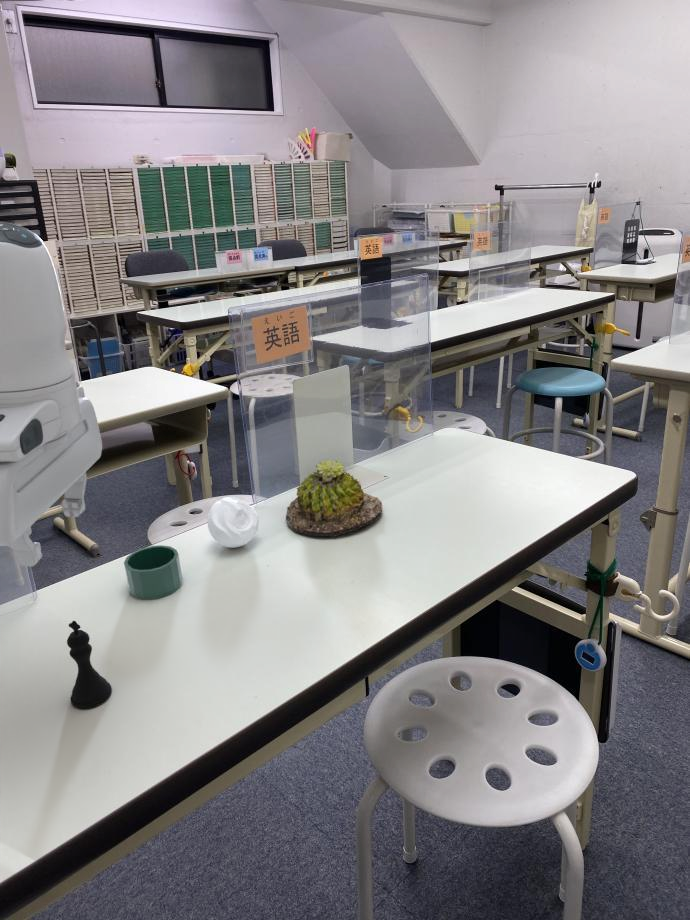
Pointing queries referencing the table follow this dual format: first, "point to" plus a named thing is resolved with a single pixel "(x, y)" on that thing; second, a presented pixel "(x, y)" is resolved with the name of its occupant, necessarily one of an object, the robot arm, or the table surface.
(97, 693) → the chess piece
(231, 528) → the white swirled ball
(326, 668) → the table surface
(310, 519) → the cactus
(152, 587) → the green round container
